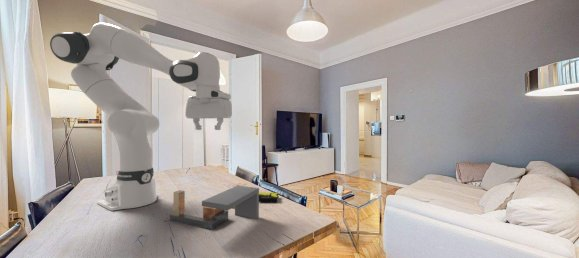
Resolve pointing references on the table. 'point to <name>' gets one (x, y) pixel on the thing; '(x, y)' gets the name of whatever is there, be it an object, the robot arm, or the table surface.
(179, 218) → the tan-tipped l-shaped bar
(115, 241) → the table surface
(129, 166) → the robot arm
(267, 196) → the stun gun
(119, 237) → the table surface
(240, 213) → the grey l-shaped bookend
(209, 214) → the cube
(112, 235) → the table surface
